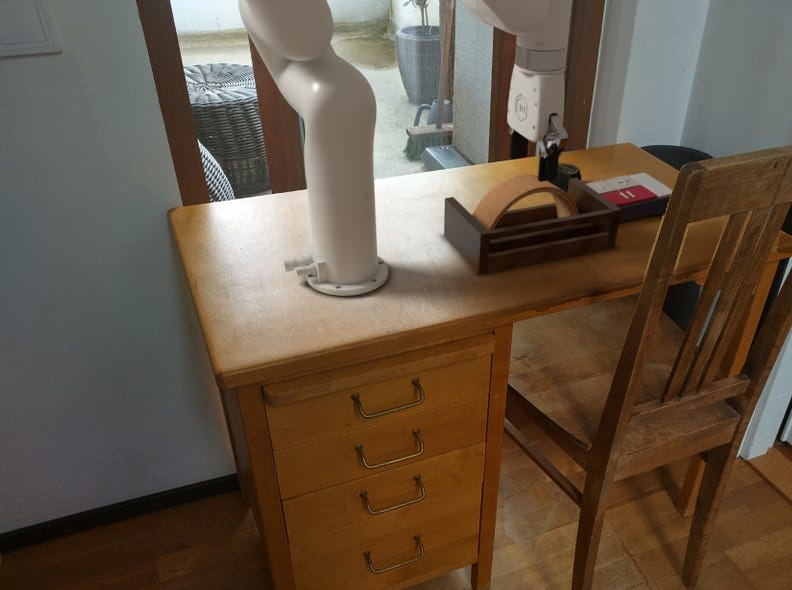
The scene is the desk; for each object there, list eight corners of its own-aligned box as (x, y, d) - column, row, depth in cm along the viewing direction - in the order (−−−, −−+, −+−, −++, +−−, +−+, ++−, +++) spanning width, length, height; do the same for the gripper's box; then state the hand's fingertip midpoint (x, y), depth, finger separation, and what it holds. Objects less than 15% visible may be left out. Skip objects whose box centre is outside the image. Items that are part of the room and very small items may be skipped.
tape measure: (537, 186, 141) (539, 167, 139) (558, 176, 145) (560, 158, 143) (565, 196, 137) (567, 178, 135) (586, 186, 141) (588, 168, 139)
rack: (478, 275, 112) (481, 234, 108) (443, 236, 122) (444, 198, 118) (615, 247, 121) (622, 209, 117) (571, 213, 131) (576, 177, 127)
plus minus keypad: (578, 182, 134) (645, 168, 138) (576, 203, 136) (642, 189, 141) (610, 206, 126) (680, 190, 130) (607, 228, 128) (676, 212, 133)
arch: (579, 232, 125) (587, 177, 119) (482, 256, 117) (485, 199, 111) (560, 218, 129) (566, 165, 123) (464, 241, 121) (466, 185, 115)
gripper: (492, 46, 111) (488, 153, 121) (547, 76, 98) (537, 193, 109) (534, 41, 113) (527, 147, 124) (594, 71, 101) (580, 185, 111)
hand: (532, 168), depth 116 cm, fingers open, 9 cm apart
